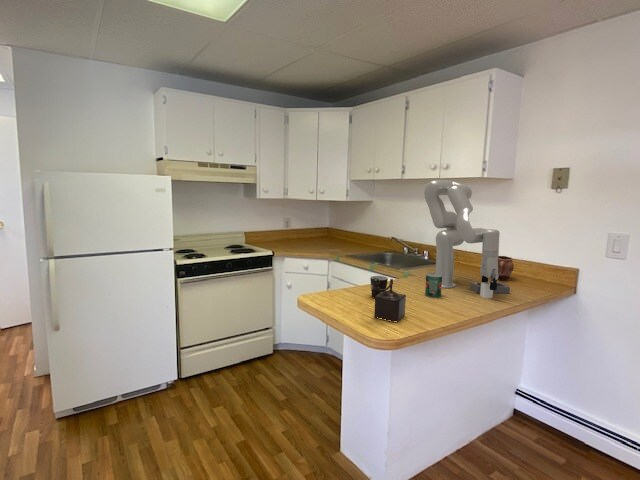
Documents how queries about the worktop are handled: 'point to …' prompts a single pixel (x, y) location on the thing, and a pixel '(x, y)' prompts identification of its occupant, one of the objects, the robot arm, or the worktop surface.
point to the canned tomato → (433, 285)
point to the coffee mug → (381, 286)
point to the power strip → (500, 289)
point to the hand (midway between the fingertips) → (488, 287)
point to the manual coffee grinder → (388, 302)
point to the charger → (486, 290)
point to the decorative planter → (505, 267)
